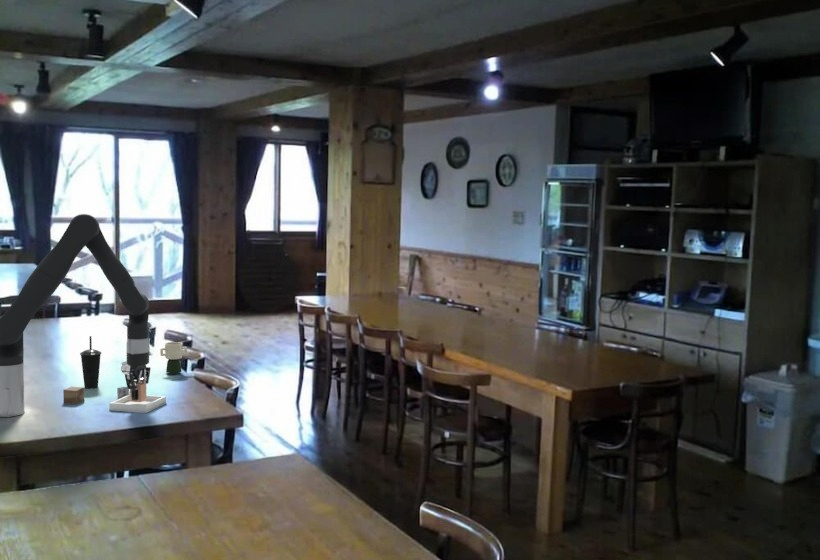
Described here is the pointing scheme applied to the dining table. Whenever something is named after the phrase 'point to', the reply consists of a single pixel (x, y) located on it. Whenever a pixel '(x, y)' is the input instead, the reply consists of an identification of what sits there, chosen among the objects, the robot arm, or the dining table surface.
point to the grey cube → (122, 392)
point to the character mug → (173, 356)
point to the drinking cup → (90, 367)
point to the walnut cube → (73, 395)
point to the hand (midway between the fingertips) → (138, 398)
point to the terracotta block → (140, 393)
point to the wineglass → (125, 368)
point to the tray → (137, 404)
